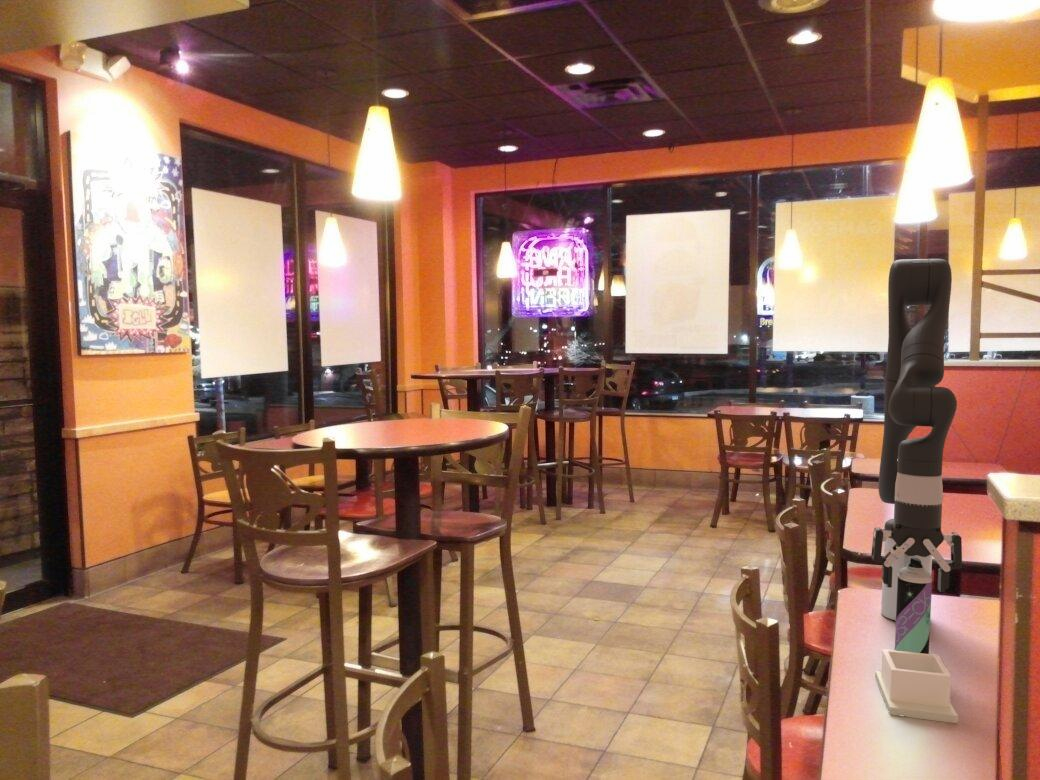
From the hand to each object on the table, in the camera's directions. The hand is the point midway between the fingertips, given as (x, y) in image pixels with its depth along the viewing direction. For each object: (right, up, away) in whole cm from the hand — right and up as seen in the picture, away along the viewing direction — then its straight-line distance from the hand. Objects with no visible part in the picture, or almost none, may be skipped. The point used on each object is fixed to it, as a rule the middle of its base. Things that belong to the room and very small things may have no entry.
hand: (914, 588), depth 139 cm
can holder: (-6, -15, -11) cm, 20 cm away
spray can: (0, -15, +1) cm, 15 cm away
